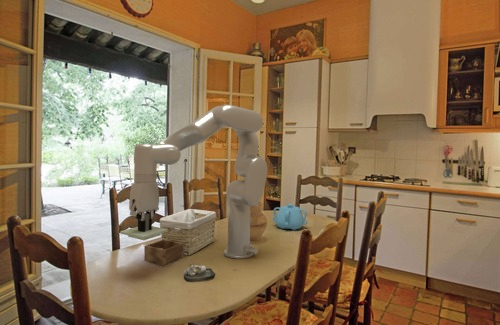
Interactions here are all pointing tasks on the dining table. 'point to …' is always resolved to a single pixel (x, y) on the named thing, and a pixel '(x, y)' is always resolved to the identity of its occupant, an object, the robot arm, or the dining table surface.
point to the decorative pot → (289, 217)
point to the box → (163, 252)
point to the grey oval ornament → (198, 274)
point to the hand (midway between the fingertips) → (144, 229)
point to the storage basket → (190, 229)
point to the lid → (148, 233)
